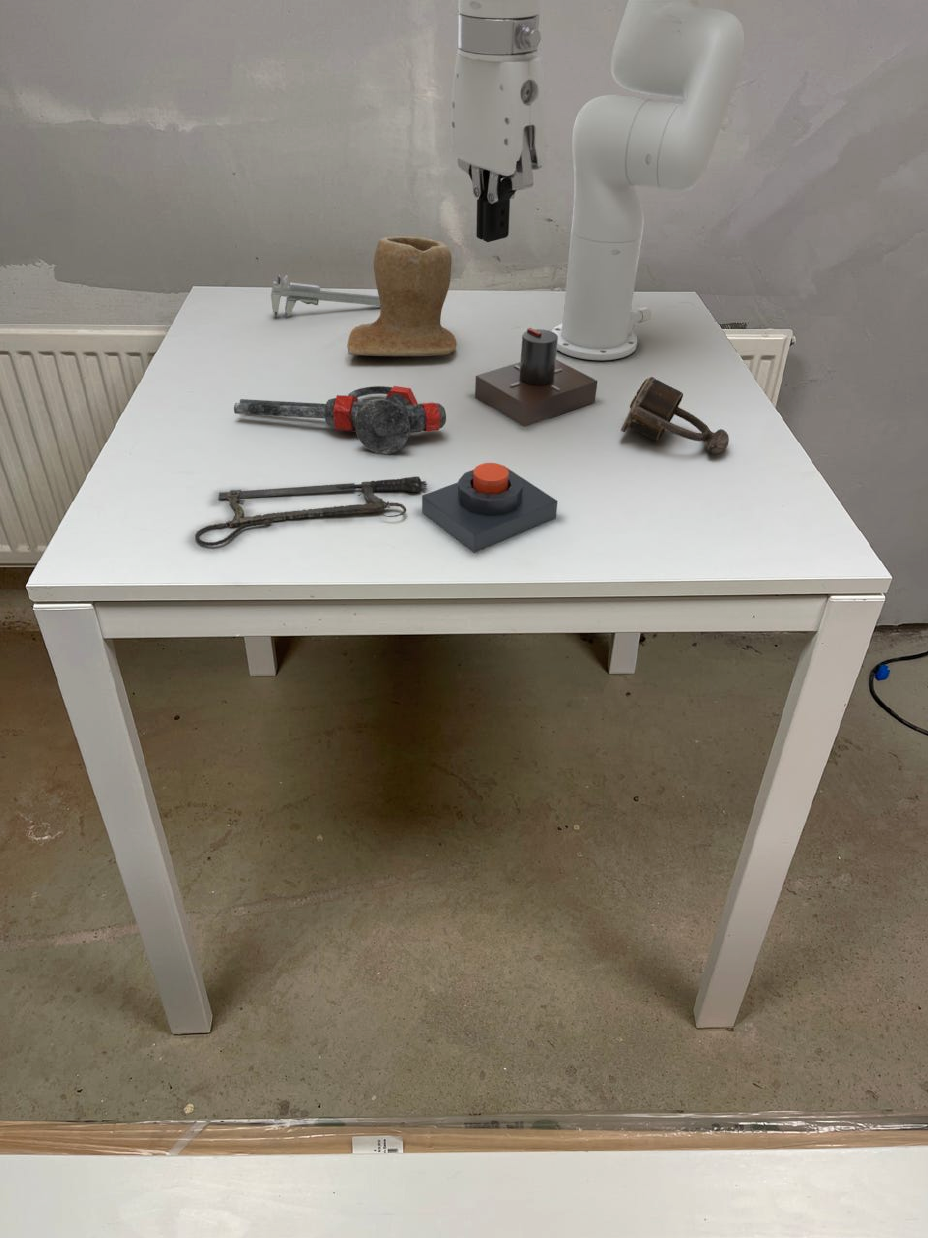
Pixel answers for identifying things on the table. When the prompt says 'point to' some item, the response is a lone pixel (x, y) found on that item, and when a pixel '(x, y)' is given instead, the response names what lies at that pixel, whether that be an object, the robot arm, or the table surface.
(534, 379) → the dial
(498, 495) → the button box
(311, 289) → the caliper
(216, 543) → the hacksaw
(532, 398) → the dial panel
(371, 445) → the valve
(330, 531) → the table surface
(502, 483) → the button
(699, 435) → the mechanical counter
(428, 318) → the stone cup
